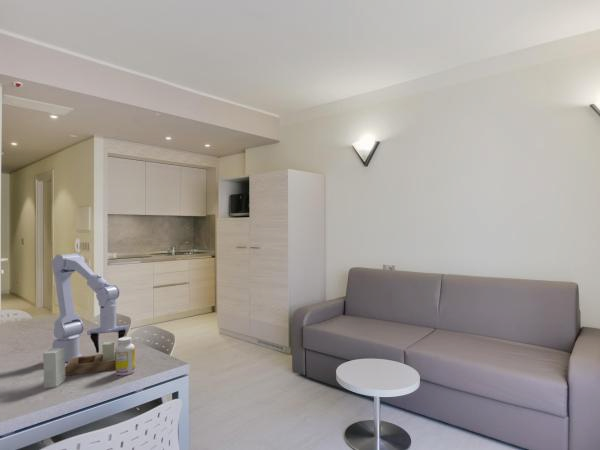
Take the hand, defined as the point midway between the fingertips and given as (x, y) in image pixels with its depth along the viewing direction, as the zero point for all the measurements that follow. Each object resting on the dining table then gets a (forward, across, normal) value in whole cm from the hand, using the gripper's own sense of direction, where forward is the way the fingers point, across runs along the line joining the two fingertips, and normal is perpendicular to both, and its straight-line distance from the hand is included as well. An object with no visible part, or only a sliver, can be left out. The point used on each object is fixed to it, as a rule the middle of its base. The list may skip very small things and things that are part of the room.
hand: (108, 350), depth 152 cm
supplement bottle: (+6, +7, -11) cm, 14 cm away
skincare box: (+6, -16, -13) cm, 21 cm away
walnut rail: (+6, -4, 0) cm, 7 cm away
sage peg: (+5, 0, 0) cm, 5 cm away
